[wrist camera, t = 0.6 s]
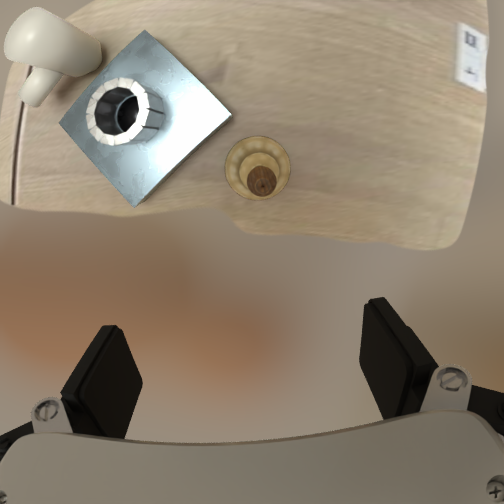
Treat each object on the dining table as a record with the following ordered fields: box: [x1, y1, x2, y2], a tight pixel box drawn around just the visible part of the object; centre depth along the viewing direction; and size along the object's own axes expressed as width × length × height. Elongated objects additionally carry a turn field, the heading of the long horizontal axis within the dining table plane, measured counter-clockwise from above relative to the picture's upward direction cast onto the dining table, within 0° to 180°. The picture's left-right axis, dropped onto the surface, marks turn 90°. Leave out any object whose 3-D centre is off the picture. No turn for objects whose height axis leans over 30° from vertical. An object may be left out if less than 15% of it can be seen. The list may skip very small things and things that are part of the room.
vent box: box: [59, 30, 233, 208], centre depth 31 cm, size 16×16×10 cm
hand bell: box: [225, 136, 290, 200], centre depth 31 cm, size 8×8×16 cm
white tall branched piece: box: [4, 7, 102, 107], centre depth 25 cm, size 11×6×16 cm, turn 131°
